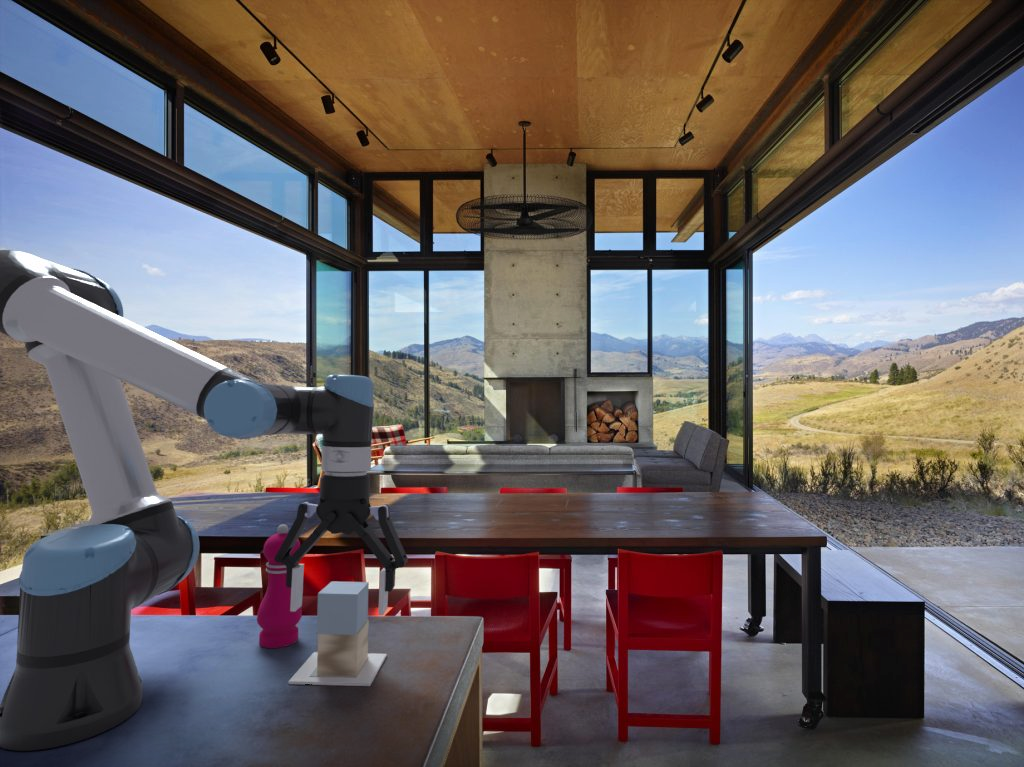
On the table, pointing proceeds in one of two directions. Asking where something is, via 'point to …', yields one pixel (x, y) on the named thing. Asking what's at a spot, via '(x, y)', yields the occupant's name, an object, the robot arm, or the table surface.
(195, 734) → the table surface
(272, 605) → the pepper mill
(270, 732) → the table surface
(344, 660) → the maple cube
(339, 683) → the mat
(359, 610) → the slate cube
